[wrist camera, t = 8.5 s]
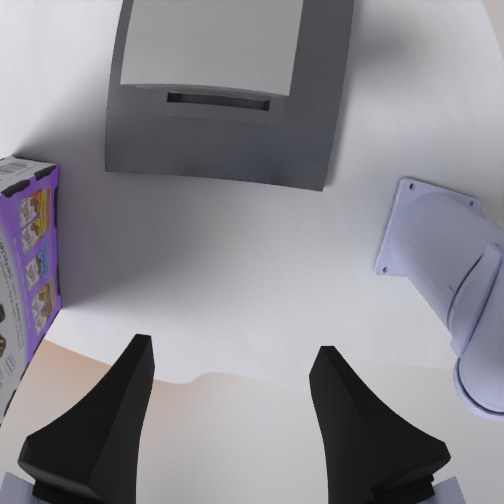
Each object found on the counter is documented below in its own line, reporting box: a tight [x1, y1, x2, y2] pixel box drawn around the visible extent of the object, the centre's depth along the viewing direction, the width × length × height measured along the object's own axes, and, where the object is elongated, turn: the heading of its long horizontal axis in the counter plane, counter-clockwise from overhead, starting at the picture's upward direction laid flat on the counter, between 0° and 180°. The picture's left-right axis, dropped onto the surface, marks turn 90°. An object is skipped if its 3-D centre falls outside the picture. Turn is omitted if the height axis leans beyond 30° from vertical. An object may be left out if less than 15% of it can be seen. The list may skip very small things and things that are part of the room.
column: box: [120, 0, 303, 101], centre depth 8 cm, size 4×4×7 cm
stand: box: [105, 0, 354, 192], centre depth 14 cm, size 14×14×4 cm
